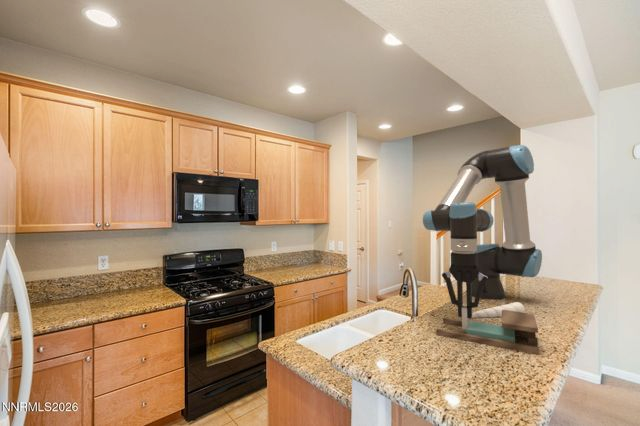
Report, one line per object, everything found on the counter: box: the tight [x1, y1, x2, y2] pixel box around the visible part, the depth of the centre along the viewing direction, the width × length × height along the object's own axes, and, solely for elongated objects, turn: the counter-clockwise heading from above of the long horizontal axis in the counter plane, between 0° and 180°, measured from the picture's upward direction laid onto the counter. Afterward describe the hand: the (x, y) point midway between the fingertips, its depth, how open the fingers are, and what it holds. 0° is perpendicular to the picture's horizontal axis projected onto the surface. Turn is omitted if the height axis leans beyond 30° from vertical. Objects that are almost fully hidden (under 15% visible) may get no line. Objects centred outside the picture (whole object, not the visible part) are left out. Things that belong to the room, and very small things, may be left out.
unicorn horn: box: [459, 301, 526, 319], centre depth 104 cm, size 5×24×5 cm, turn 92°
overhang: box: [436, 310, 540, 356], centre depth 87 cm, size 25×14×7 cm, turn 57°
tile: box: [466, 320, 516, 343], centre depth 86 cm, size 12×8×3 cm, turn 57°
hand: (465, 328), depth 89 cm, fingers closed
